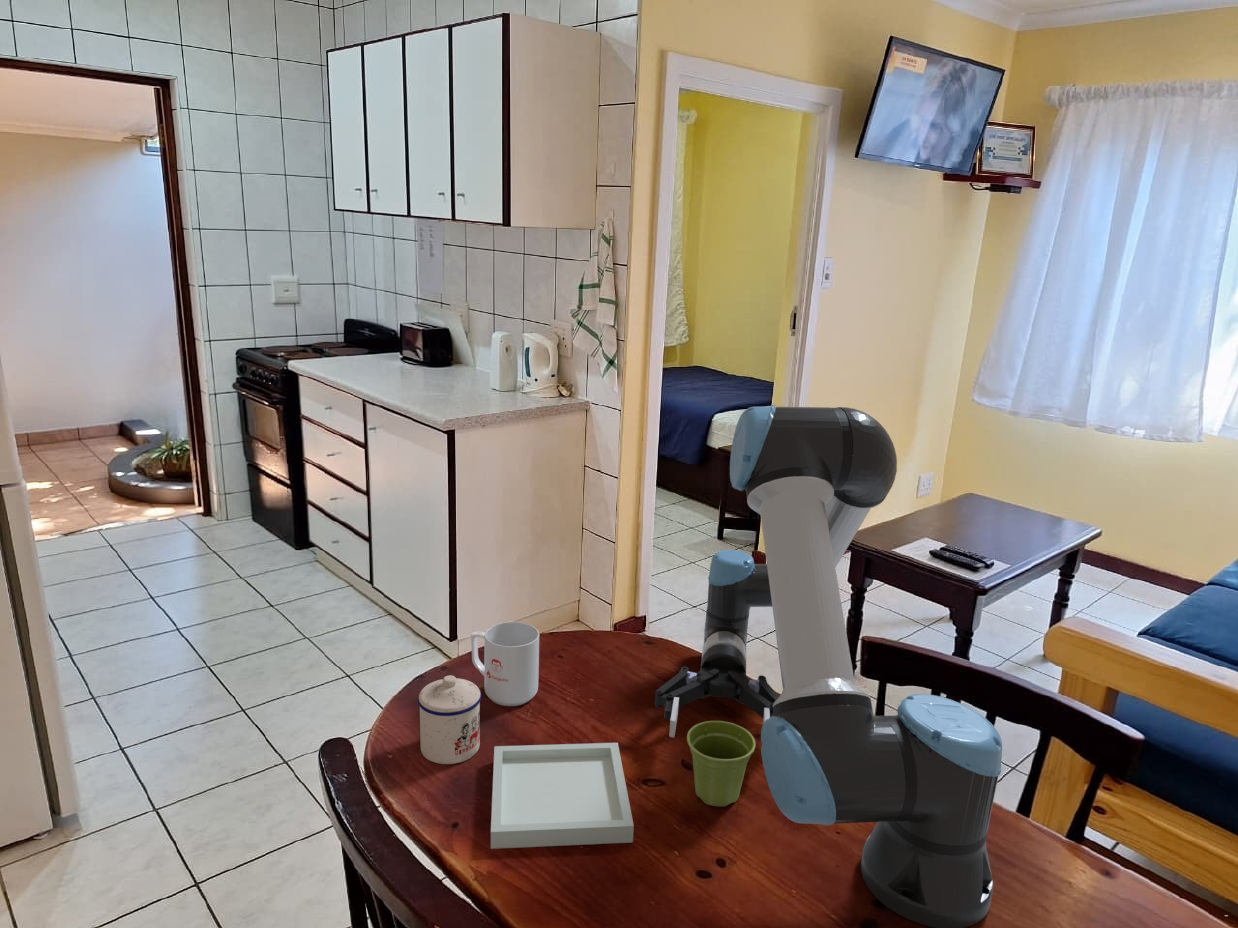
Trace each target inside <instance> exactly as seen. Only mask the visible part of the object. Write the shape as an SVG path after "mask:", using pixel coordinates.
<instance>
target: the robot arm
mask: <svg viewBox="0 0 1238 928" xmlns="http://www.w3.org/2000/svg"><path fill="white" fill-rule="evenodd" d="M733 433H734V434H733V439H732V443H731V450H730V460H729V479H730V480H729V481H730V483H731V487H732V488H733V489H735V490H737V491H740V492H743V491H745V493H746V499H747V500H746V502H747V505H748V507H749V508H750V509H751V510H752V511H754V512H756V513H757V514H758V515H760V520H761V527H762V528H761V529H762V536H763V543H764V545H763V547H764V551H765V559H766V561H765V562H766V563H755V561H754V560H755V559H754V557H753V556H752V555H750V554H749V553H747V552H744V551H743V550H740V551H739V550H735V549H724V550H721V551H720V550H719V551H718V552H716V553H714V555H713V556H712V558H711V561H710V567H709V574H708V577H707V579H708V590H707V591H708V592H707V605H706V612H705V623H704V630H703V646H702V652H701V653H702V654H701V661H700V670H699V671H698V672H693V671H689V667H687V666H682V667H681V668H680V670H679V672H678V673H677V674H676V675H674V676H673V677H671V679H669V680H667V682H665V683H664V684H663V685H661V686H660V687H658V688H656V690H655V698H654V699H655V700H654V706H655V707H657V708H661V707H664V712H663V713H664V716H663V718H664V719H665V720H669V722H670V723H669V733H668V734H669V735H668V737H669V738H675V735H676V729H677V722H678V716H679V708H681V707H684V706H686V705H687V704H690V703H692V702H694V701H696V700H698V699H700V700H704V699H707V698H708V697H710V696H711V697H712V698H713V697H714V698H715V697H716V698H724V699H729V700H731V699H732V700H734V701H735V702H736V703H738V704H740V705H742V704H744V705H745V706H746V707H748V708H749V709H750V710H752V711H753V712H754V713H756V714H757V715H758V716H759V717H761V718H762V726H761V731H760V740H761V741H760V742H761V744H762V745H761V748H760V752H761V760H762V765H763V769H764V775H765V778H766V782H767V785H768V789H769V791H770V793H771V796H772V798H773V800H774V802H775V804H776V806H777V807H778V809H779V810H780V811H781V813H782V814H783V816H785V817H786V818H787V819H789V820H790V821H792V822H794V823H797V824H815V825H816V824H817V825H822V826H831V825H834V824H835V825H836V824H857V823H858V824H859V823H875V826H874V828H873V829H872V831H871V833H870V834H869V836H868V837H867V839H866V840H865V842H864V844H863V848H862V854H861V855H862V856H861V862H860V870H861V874H862V878H863V880H864V883H865V884H866V887H867V888H868V889H869V890H870V892H871V893H872V894H873V895H874V896H875V898H876V899H877V900H878V901H879V902H880V903H882V904H883V905H884V906H885V907H886V908H888V909H889V910H891V911H892V912H894V913H895V914H897V915H899V916H901V917H903V918H905V919H906V920H909V921H911V922H913V923H916V924H920V925H922V926H926V927H929V928H930V927H931V928H968V927H970V926H973V925H976V924H977V923H979V922H980V921H982V920H983V919H984V918H985V917H986V916H987V914H988V912H989V910H990V908H991V902H992V898H993V893H994V881H993V880H994V879H993V875H992V870H991V864H990V859H989V854H988V850H987V844H986V842H987V837H988V830H989V827H990V820H991V815H992V810H993V805H994V800H995V795H996V789H997V785H998V779H999V776H1000V775H1001V772H1002V755H1003V741H1002V738H1001V736H1000V734H999V731H998V729H997V728H996V727H995V725H994V724H992V723H991V722H990V721H989V719H987V718H986V717H985V716H983V714H981V713H980V712H978V711H977V710H974V709H972V708H971V707H969V706H967V705H964V704H962V703H961V702H958V701H957V700H956V701H955V700H953V699H950V698H947V697H943V696H939V695H935V694H925V693H923V694H922V693H918V694H917V693H916V694H911V695H908V696H906V697H905V698H903V700H901V702H900V704H898V706H897V714H896V715H875V714H874V711H873V709H874V708H873V704H872V700H871V696H870V694H868V693H867V692H865V691H864V690H863V689H862V688H860V686H858V685H857V684H856V683H855V677H854V669H853V663H852V659H851V653H850V645H849V641H848V634H847V629H846V624H845V617H844V610H843V606H842V600H841V594H840V589H839V588H840V587H839V583H838V582H839V581H838V576H837V569H836V568H837V565H839V563H840V561H841V559H842V558H843V556H844V554H845V552H846V550H847V549H848V548H849V546H850V544H851V543H852V541H853V539H854V538H855V536H856V534H857V533H858V531H859V529H860V527H862V526H861V525H862V524H863V522H864V520H865V519H866V518H867V516H868V514H869V512H870V511H871V509H872V508H875V507H877V506H879V505H881V504H882V503H883V502H884V501H885V500H886V498H887V496H888V494H889V493H890V491H891V489H892V487H893V486H894V483H895V480H896V475H897V472H898V471H897V470H898V467H897V466H898V459H897V452H896V448H895V444H894V442H893V441H892V438H891V436H890V434H889V433H888V431H887V430H886V428H884V426H883V425H882V424H881V423H880V422H879V421H878V420H877V419H875V418H874V417H873V416H871V415H870V414H868V413H866V412H864V411H861V410H859V409H856V408H852V407H844V406H843V407H841V406H839V407H837V406H836V407H826V406H825V407H823V406H821V407H819V406H816V407H815V406H812V407H810V406H776V404H771V405H770V406H769V405H768V406H767V405H766V406H750V407H748V408H746V409H745V410H744V411H743V412H742V413H741V414H740V416H739V417H738V420H737V424H736V426H735V430H734V432H733ZM751 608H772V613H773V621H774V627H775V628H774V629H775V630H774V631H775V638H776V646H777V651H778V652H777V653H778V661H779V667H780V675H781V676H780V677H781V683H782V684H781V685H782V692H781V693H780V694H778V692H776V691H775V690H774V689H773V688H772V687H771V685H770V684H769V682H768V681H767V677H766V676H765V675H759V676H758V677H757V679H752V678H751V679H750V678H749V677H748V676H747V642H748V640H747V638H748V629H749V627H748V626H749V625H748V624H749V619H750V618H749V617H750V610H751Z"/></svg>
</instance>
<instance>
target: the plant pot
mask: <svg viewBox="0 0 1238 928" xmlns="http://www.w3.org/2000/svg"><path fill="white" fill-rule="evenodd" d="M686 741H687V745H688V746H689V749H690V753H691V755H692V756H691V757H692V767H693V777H694V789H695V791H694V793H695V794H696V796H697V797H698V798H699V799H700V800H702V802H703V803H704V804H706V805H708V806H713V807H719V808H720V807H721V808H722V807H727V806H728V805H730V804H732V803H734V804H735V803H736V802H737V801H738V800H739V797H740V793H741V788H742V785H743V781H744V776H745V772H746V769H747V765H748V762H749V761H750V758H751V755H753V753H754V752H755V750H756V749H755V748H756V739H755V738H754V736H753V735H752V733H751V732H750V731H749V730H748V729H746V728H744V727H743V726H740V725H738V724H736V723H733V722H729V721H724V720H709V721H708V720H707V721H703V722H699V723H696V724H695V725H693V726H692V727H691V728H690V729H689V730H688V731H687V735H686Z"/></svg>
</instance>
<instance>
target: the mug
mask: <svg viewBox="0 0 1238 928" xmlns="http://www.w3.org/2000/svg"><path fill="white" fill-rule="evenodd" d="M479 637H480V638H482V639H484V643H483V644H484V651H483V652H484V657H483V658H484V660H483V662H484V664H483V662H482V661H481V660H480V658H479V647H478V645H479V643H478V638H479ZM470 640H471V641H470V643H471V661H472V664H473V666H474V667H475V669H477V671H479V673H480V674H481V675H482V676H483V677H484V678H483V679H484V685H483V687H484V693H485V694H486V696H487V698H489V699H490V700H491V701H492V702H493V703H495V704H497V705H500V706H503V707H518V706H521V705H524V704H526V703H528V702H529V701H531V700H532V699H533V698H534V697H535V696H536V694H537V692H538V691H539V690H538V689H539V673H540V672H539V671H540V668H539V667H540V631H539V630H538V628H536V626H534V625H531V624H530V623H525V622H523V621H522V622H521V621H520V622H519V621H506V622H499V623H495V624H493V625H491V626H490V627H488V628H487V629H486V630H485V631H473V632H472V633H471V634H470Z"/></svg>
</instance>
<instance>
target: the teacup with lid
mask: <svg viewBox="0 0 1238 928" xmlns="http://www.w3.org/2000/svg"><path fill="white" fill-rule="evenodd" d="M481 700H482V693H481V690H480V688H479V687H478V686H477V685H476V684H475V683H474V682H472V681H470V680H467V679H464V678H458V677H457V678H456V676H454V675H452V674H450V675H446V676H445V675H444V677H443V678H442V679H438V680H435V681H433V682H430V683H428V684H427V685H425V686H424V687H423V688H422V689H421V691H420V692H419V694H418V697H417V704H418V705H419V726H420V727H419V730H420V731H419V732H420V737H419V738H420V751H421V752H420V753H421V754H422V755H423V757H424V758H426V759H427V760H428V761H430V762H433V763H434V764H435V763H436V764H440V765H454V764H458V763H462V762H465V761H468V760H469V759H471V758H472V757H474V755H476V754H477V752H478V750H479V748H480V744H481V743H480V742H481V741H480V739H481V737H480V736H481V733H480V732H481V731H480V730H481V727H480V726H481V724H480V723H481V722H480V715H481V713H480V712H481V710H480V708H481V707H480V706H481V704H480V703H481Z"/></svg>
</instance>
